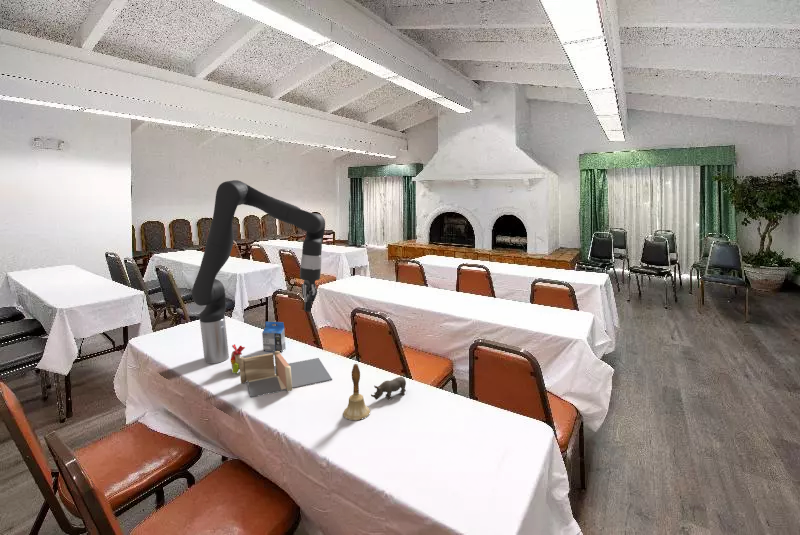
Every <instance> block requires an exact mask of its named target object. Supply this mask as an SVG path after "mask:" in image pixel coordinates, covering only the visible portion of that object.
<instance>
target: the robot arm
mask: <svg viewBox="0 0 800 535" xmlns="http://www.w3.org/2000/svg"><path fill="white" fill-rule="evenodd" d="M241 205H245V206H249V207H254V208H256V209H259V210H261V211H262V212H264V213H266V214H267V215H268V216H270V217H272V218H274V219H276V220H278V221H281V222H283V223H287V224H288V225H293V226H294V227H297V228H298V229H300V230H303V231H305V232H306V233H305V234H306V235H305V238H304V240H303V242H302V254H301V259H300V270H299V279H301V280H303V283H302V284H301V291H302V292H301V293H302V298H303V301H304V308H303V309H304V312H306V313H310V312H312V303H313V302H315V300H316V296H318V295H317V294H318V290H316V288H317V285H316V281H318V280H320V279H321V273H322V272H321V271H322V253H323V252H322V249H323V240H324V236H325V229H326V219H325V218H324V216H323V215H321V213H317V212H316V213H315V212H309V211H306V210H303V209H301V208H300V207H298V206H296V205H294V204H292V203H289V202H286V201H283V200H280V199H277V198H275V197H272V196H270V195H268V194H266V193H264V192H261V191H260V190H257V189H256V188H254V187H252V186H251V185H249V184H247V183H245V182H243V181H241V180H238V179H236V180H235V179H234V180H227V181H226V180H225V181H223V182H222V183H220V184H219V185H218V187H217V189H216V193H215V200H214V208H213V216H212V220H211V223H210V227H209V232H208V235H207V237H206V238H207V239H206V242H205V246H204V252H203V255H202V258H201V263H200V266H199V270H198V273H197V276H196V279H195V280H194V284H193V286H192V290H191V297H192V300H193V302H194V303H195V304H196V305H197V306H202V307H203V306H205V308H204V309H203V310H202V311H201V312H200V313H199V315H198V316H199V322H200V323H199V325H200V333H201V340H202V341H201V342H202V350H203V357H204V362H205V363H206V364H207V363H208V364H218V363H221V362H224V361H226V360H228V359H229V358H230V354H229V353H230V352H229V345H228V334H227V327H226V326H227V325H226V315H225V314H226V311H227V304H226V302H227V300H226V289H225V287H224V285H223V283H222V282H221V280H219V279H217V275H218V274H219V272H220V270H221V269H222V268H223V267H224V265H225V264H226V263H227V261H228V260H229V258H230V256H231V254H232V250H233V247H234V242H235V235H234V233H235V232H234V228H233V223H234V217H235V213H236V210H237V208H238V206H241Z"/></svg>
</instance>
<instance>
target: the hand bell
mask: <svg viewBox="0 0 800 535" xmlns="http://www.w3.org/2000/svg"><path fill="white" fill-rule="evenodd" d="M351 379H352V381H351V382H352V383H353V384H352V385H353V388H352V389H353V391H352V392H353V393H352V394H351V395H349V398H348V403H347V407H346V408H344V411H343V413H342V416H343V417H344V419H347V420H349V419H350V420H351V421H360V419H361V420H363V419H362V418H364V419H366V418H367V416H368V415H369V416H370V414H371V410H370V408H369V407H368V406H367V405H366V403H365V399H364V395H363V394H360V388H359V385H360V384H359V383H360V379H361V372H360V368H359V364H358V363H354V364H353V366H352V369H351ZM369 413H370V414H369ZM369 416H368V417H369ZM365 417H366V418H365ZM350 420H349V421H350Z"/></svg>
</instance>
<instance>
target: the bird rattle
mask: <svg viewBox="0 0 800 535" xmlns="http://www.w3.org/2000/svg"><path fill="white" fill-rule="evenodd" d="M231 347H232V348H233V349H234V350H233V351H232V353H231V356H230V364H231V369H232V370H231V371H232V372H231V373H232V374H235V375H237V374H238V372H240V368H239V358H240V357H241V356H242V355H243V353H242V351H244V349H245V348H246V347H245V346H243V345H239V346H238V348H237V346H236V344H232V346H231Z"/></svg>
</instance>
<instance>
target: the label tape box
mask: <svg viewBox="0 0 800 535" xmlns="http://www.w3.org/2000/svg"><path fill="white" fill-rule="evenodd" d="M264 324H265V327H264V329H263V331H262V332H261V334H262V350H265V351H264V352H275V351H281V352H280V353H283V352H284V351H285V350H286V349H287V347H286V337H285V334H286V332H285V325H284V324H285V323H284V321H265V323H264ZM284 349H285V350H284ZM283 350H284V351H283Z"/></svg>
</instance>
